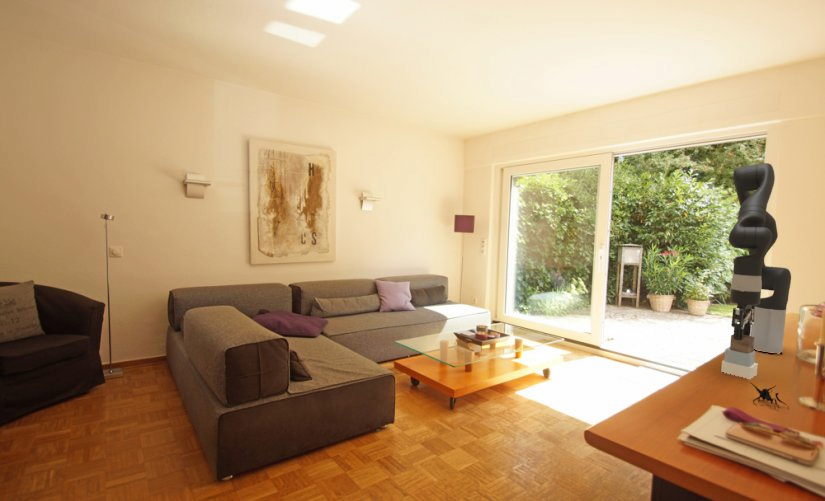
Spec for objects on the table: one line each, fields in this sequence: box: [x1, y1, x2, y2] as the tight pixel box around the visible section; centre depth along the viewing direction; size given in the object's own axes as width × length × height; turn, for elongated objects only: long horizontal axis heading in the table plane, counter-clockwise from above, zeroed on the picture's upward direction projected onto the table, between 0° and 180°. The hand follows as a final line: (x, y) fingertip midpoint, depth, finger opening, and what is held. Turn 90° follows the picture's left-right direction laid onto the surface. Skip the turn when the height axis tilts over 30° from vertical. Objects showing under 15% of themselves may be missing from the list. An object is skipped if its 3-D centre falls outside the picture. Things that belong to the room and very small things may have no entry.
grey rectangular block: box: [723, 346, 756, 367], centre depth 131 cm, size 6×6×4 cm
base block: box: [720, 359, 759, 380], centre depth 132 cm, size 8×8×4 cm
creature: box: [750, 382, 790, 410], centre depth 108 cm, size 8×5×8 cm
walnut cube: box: [729, 333, 755, 354], centre depth 131 cm, size 5×5×5 cm
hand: (741, 337), depth 131 cm, fingers open, 8 cm apart
